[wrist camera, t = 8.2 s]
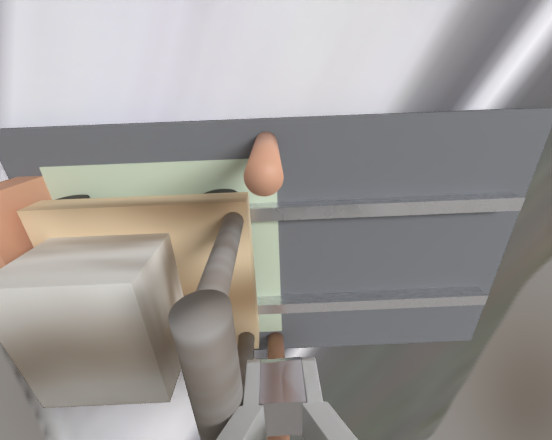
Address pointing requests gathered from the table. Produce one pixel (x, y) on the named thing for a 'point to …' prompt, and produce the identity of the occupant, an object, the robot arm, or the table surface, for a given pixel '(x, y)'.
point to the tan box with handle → (135, 302)
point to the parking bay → (163, 181)
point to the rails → (376, 209)
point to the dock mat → (345, 185)
